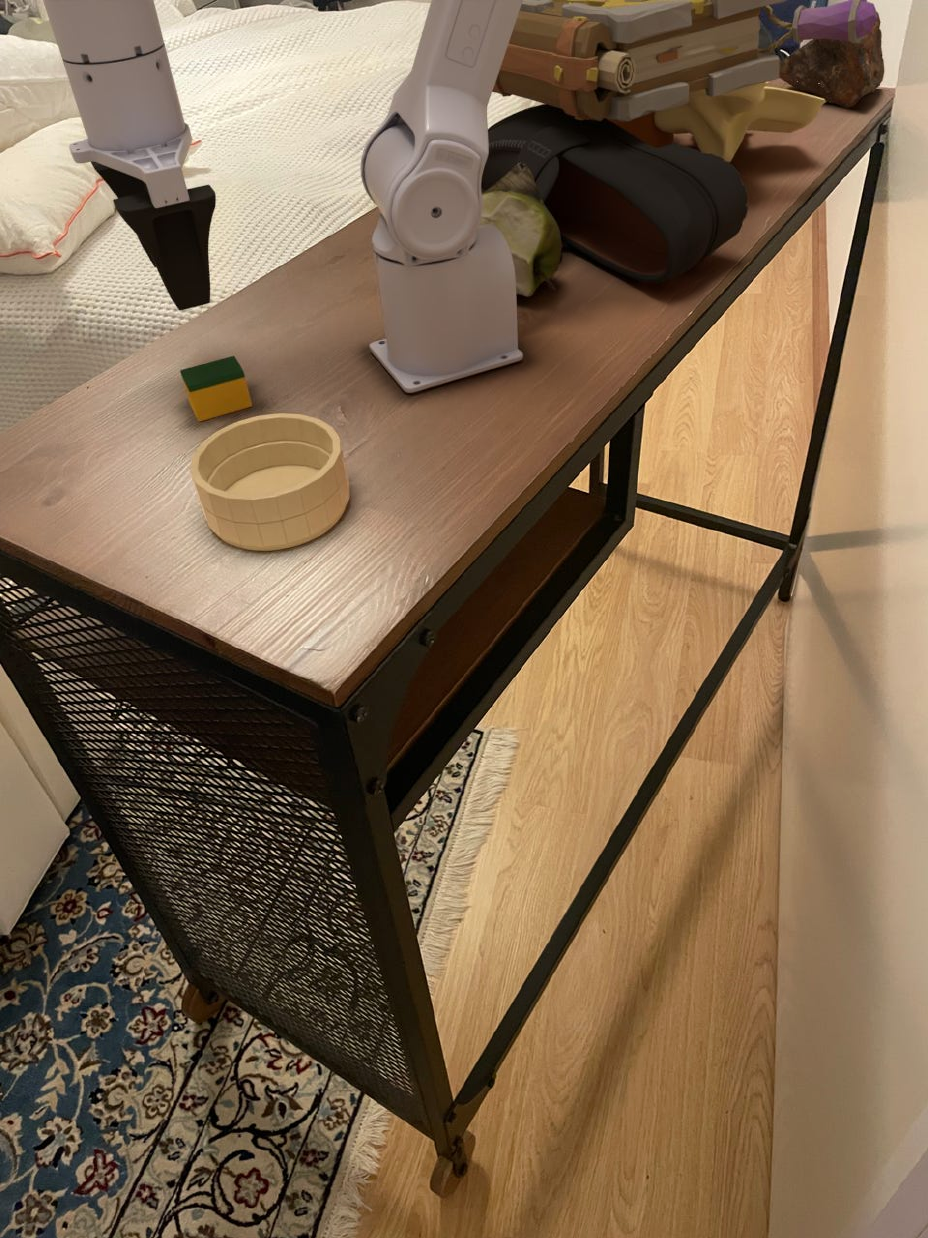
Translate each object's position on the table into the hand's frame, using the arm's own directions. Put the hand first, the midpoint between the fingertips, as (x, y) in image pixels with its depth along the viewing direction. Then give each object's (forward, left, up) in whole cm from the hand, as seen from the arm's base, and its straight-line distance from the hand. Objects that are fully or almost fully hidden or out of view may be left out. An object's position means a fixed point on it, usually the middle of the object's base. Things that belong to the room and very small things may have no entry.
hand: (180, 282), depth 63 cm
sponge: (0, +1, -9) cm, 9 cm away
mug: (-52, -29, -9) cm, 60 cm away
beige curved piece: (-58, -21, -3) cm, 61 cm away
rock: (-75, -28, -8) cm, 81 cm away
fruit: (-30, -8, -4) cm, 31 cm away
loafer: (-41, -12, -4) cm, 43 cm away
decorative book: (-46, -4, 0) cm, 46 cm away
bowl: (-1, +15, -9) cm, 17 cm away
